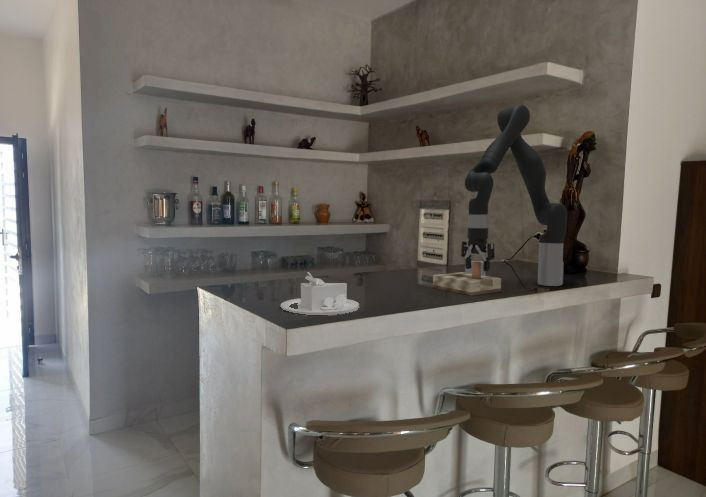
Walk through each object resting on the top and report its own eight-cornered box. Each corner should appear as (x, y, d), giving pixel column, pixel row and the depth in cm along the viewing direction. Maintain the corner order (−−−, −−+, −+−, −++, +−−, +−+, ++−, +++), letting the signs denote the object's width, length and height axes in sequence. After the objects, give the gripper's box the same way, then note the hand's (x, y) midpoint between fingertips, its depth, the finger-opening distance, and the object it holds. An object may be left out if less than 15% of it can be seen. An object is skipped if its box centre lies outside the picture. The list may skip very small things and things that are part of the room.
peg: (475, 286, 196) (476, 260, 195) (486, 288, 192) (486, 262, 191) (466, 288, 193) (466, 261, 192) (476, 289, 189) (477, 263, 188)
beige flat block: (432, 287, 201) (433, 275, 200) (461, 284, 210) (462, 272, 209) (471, 295, 184) (471, 281, 184) (500, 291, 193) (501, 278, 193)
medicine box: (485, 281, 217) (486, 261, 216) (483, 283, 213) (484, 262, 212) (466, 280, 221) (467, 260, 220) (464, 281, 217) (465, 261, 216)
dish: (294, 319, 146) (294, 280, 145) (271, 303, 169) (271, 270, 168) (371, 312, 156) (372, 276, 155) (340, 298, 179) (341, 266, 178)
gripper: (499, 227, 187) (498, 271, 188) (470, 225, 199) (469, 267, 200) (486, 227, 183) (485, 272, 184) (456, 226, 194) (456, 268, 196)
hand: (477, 269), depth 192 cm, fingers open, 8 cm apart
